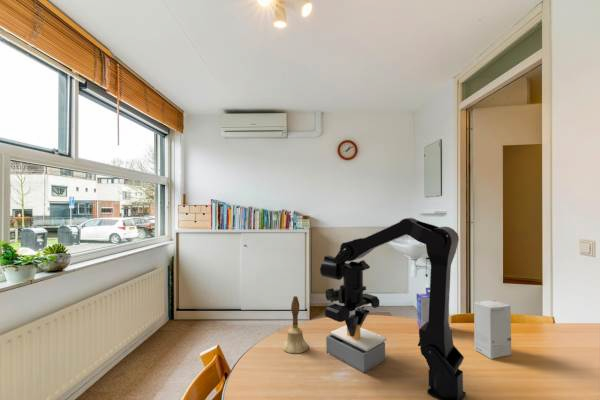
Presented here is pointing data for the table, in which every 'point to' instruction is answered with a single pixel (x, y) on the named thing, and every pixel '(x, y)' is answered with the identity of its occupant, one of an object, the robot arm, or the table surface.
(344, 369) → the table surface
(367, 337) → the flap
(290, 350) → the hand bell
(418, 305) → the ink cartridge box
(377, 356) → the carton
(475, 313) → the skincare box
